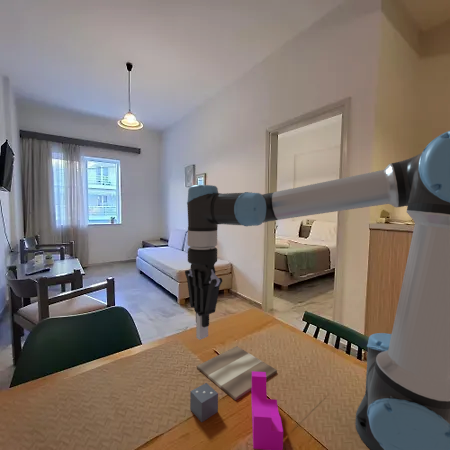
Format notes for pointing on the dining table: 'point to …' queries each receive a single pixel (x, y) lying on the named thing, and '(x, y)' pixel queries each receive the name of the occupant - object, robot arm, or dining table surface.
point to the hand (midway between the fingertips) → (202, 336)
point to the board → (234, 371)
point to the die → (204, 402)
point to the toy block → (265, 416)
